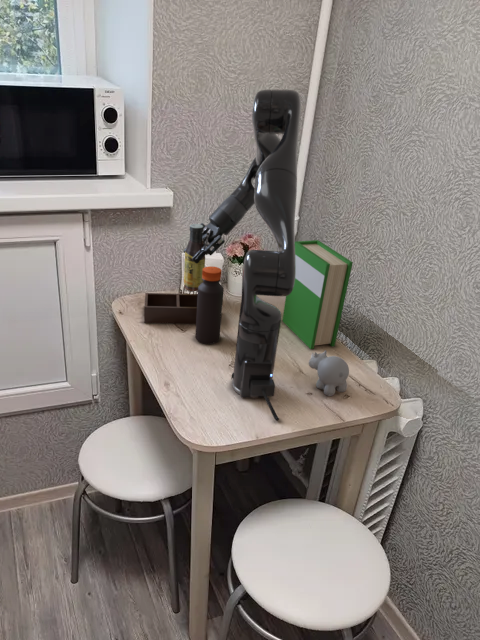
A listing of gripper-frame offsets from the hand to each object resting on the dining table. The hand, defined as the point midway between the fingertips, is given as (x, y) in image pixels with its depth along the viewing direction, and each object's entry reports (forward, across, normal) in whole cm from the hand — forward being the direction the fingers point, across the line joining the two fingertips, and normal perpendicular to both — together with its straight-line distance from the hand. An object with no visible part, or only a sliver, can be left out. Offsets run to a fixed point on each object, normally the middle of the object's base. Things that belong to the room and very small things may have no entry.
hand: (190, 257), depth 158 cm
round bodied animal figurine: (+1, +55, +20) cm, 59 cm away
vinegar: (+13, +25, +7) cm, 29 cm away
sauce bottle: (+6, 0, +9) cm, 11 cm away
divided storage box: (+15, +10, +5) cm, 18 cm away
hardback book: (-7, +31, +27) cm, 42 cm away
